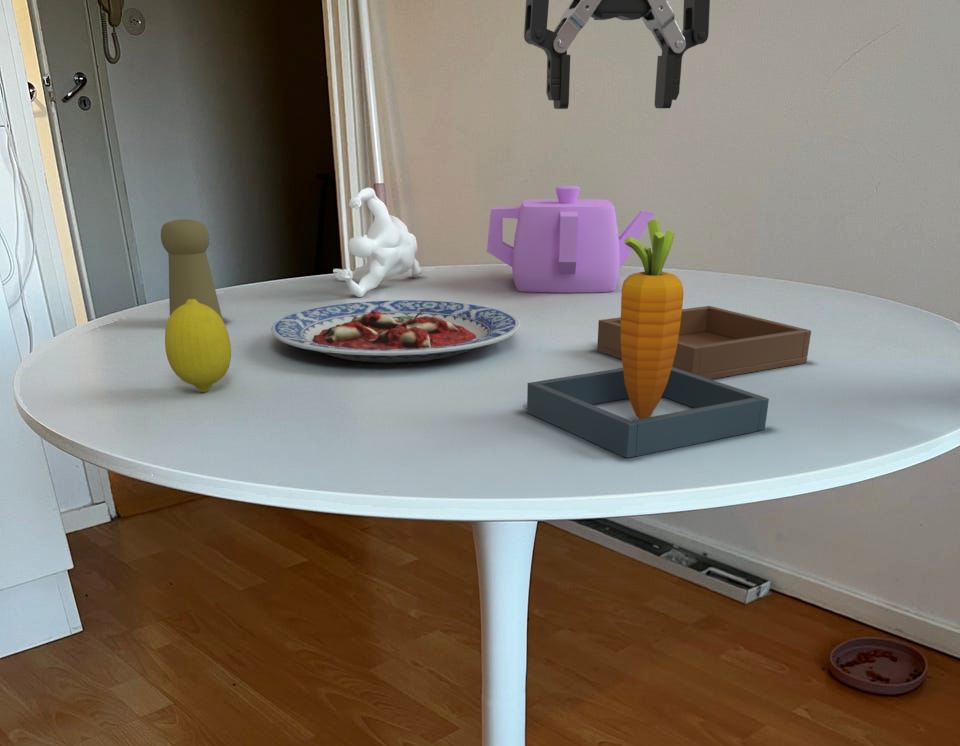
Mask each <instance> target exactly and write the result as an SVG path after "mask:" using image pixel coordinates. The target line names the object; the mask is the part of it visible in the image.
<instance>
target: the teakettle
mask: <svg viewBox="0 0 960 746" xmlns="http://www.w3.org/2000/svg"><path fill="white" fill-rule="evenodd" d="M554 189H555V194H556V196H557V198H529V199H527V198H526V199H523V200H522V201H521V203H520V206H498V207H497V206H495V207H491V208H490V214H489V225H488V235H487V246H486V253H488V254H489V255H491V256H493V257H495V258H496V259H497V260H499V261H501V262H502V263H504V264H506V265H508V266H509V267H510V268H511V270H512V271H511V272H512V276H513V277H512V278H513V281H514V285H515V288H516V291H518V292H523V293H547V294H548V293H551V294H552V293H553V294H554V293H555V294H559V293H560V294H577V293H578V294H581V293H582V294H584V293H586V294H588V293H590V294H591V293H612V292H614V291H615V289H616V287H617V284H618V280H619V276H620V268H623V266H624V264H625V262H626V261H627V259H628V257H629V256H630V255H631V253H632V251H633V249H632V248H631V247H629V246H627V245H626V244H625V242H624V241H625V239H626V238H627V237H632V238H635V239H636V240H638V241H639V240H640V239H641V237H642V235H643V234H644V233H645V231H646V229H647V228H648V223H647V222H648V221H650V220H653V218H654V216H655V212H653V211H648V210H643V209H640V210H639V212H638V214H637V215H636V216H635V217H634V219H633V220H632V221H631V222H630V223H629V225H628V226H627V227H625V229H624V230H623V232H622V233H621V234H620V235H619V229H618V222H617V213H616V209H615V208H616V207H615V205H614V203H613V202H612V201H610V199H606V198H605V199H603V198H578V197H579V194H580V190H581V187H579V186H577V185H558V186H556V187H554ZM503 219H515V220H517V223H516V227H515V231H514V232H515V233H514V240H513V246H512V245H511V244H508V243H506V242H505V241H503Z"/></svg>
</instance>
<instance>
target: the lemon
mask: <svg viewBox="0 0 960 746" xmlns="http://www.w3.org/2000/svg"><path fill="white" fill-rule="evenodd" d="M222 319H223V318H222ZM222 319H221V317H220V316H219V315H218V314H217V313H216V312H215V311H214V310H213V309H212V308H210V307H208V306H206V305H204V304H201V303H199V302H198V301H197V300H196V299H189V300H187V302H186V303H185V304H184V305H182V306H180V307H178V308H177V309H176V310H175V311H174V312H173V313H172V314H171V315H170V314H169V317H168V319H167V321H166V325H165V332H164V349H165V354H166V358H167V362H168V364H169V366H170V368H171V370H172V371H173V373H174V374H175V375H176V376H177V377H178V378H179V379H180V380H181V381H183V382H184V383H186V384H189V385H192V386H194V387H195V388H196V389H197V390H198V391H199V392H200V393H207V392H208V391H209V390H210V389H211V388H212V387H213V385H214V384H216V383H218V382H220V381H221V380H222V379H223V378H224V377H225V376H226V374H227V372H228V370H229V367H230V364H231V361H232V345H231V344H232V343H231V339H230V335H229V332H228V329H227V327H226V324H225V322H224V319H223V320H222Z"/></svg>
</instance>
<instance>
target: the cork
mask: <svg viewBox="0 0 960 746" xmlns="http://www.w3.org/2000/svg"><path fill="white" fill-rule="evenodd" d="M160 242H161V245H162V247H163V249H164V250H165V251H166V252H167V253H168V288H169V289H168V297H169V301H168V302H169V316H170V315H171V314H172V313H173V312H174V311H175V310H176V309H177V308H178V307H180V306H182V305H184V304H185V303H186V302H187V300H189V299H196V300H197V301H198V302H199V303H201V304H204V305H206V306H208V307H210V308H212V309H213V310H214V311H215V312H216V313H217V314H218V315H219V316H220V317H221V319H222V320H223V321H224V319H223V315H222V311H221V307H220V303H219V299H218V295H217V292H216V288H215V284H214V280H213V275H212V272H211V268H210V264H209V260H208V259H209V258H208V256H207V253H206V252H207V250H208V248H209V245H210V234H209V231H208V228H207V226H205V224H204V223H203V222H202V221H198V220H194V219H188V218H187V219H183V218H182V219H175V220H170V221H168V222H165V223H164V224H162V226H161V229H160Z"/></svg>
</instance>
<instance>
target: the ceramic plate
mask: <svg viewBox="0 0 960 746" xmlns="http://www.w3.org/2000/svg"><path fill="white" fill-rule="evenodd" d="M520 328H521V321H520V320H519V319H518V318H517V317H516V316H514V315H513V314H511V313H509V312H506V311H503V310H502V309H498V308H494V307H489V306H485V305H480V304H475V303H466V302H456V301H446V300H445V301H443V300H422V299H421V300H419V299H403V300H401V299H399V300H369V301H358V302H348V303H338V304H332V305H326V306H321V307H316V308H310V309H304V310H301V311H298V312H294V313H291V314H289V315H286V316H284V317H281V318H280V319H278V320H277V321H275V322H274V323H272V326H271V328H270V330H271V331H270V332H271V334H272V336H273V337H274V338H275V339H277V340H278V341H280V342H282V343H284V344H286V345H288V346H292V347H296V348H299V349H302V350H308V351H313V352H318V353H321V354H325V355H327V356H330V357H332V358H339V359H342V360H343V359H344V360H349V361H352V362H362V363H363V362H364V363H365V362H366V363H377V364H380V363H381V364H388V363H389V364H391V363H392V364H397V363H398V364H400V363H416V362H417V363H418V362H428V361H433V360H441V359H447V358H451V357H455V356H458V355H462V354H464V353H467V352H469V351H471V350H473V349H476V348H481V347H484V346H489V345H493V344H496V343H499V342H501V341H504V340H506V339H509V338H511V337H512V336H514V335H515V334H517V332H519V330H520Z"/></svg>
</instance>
